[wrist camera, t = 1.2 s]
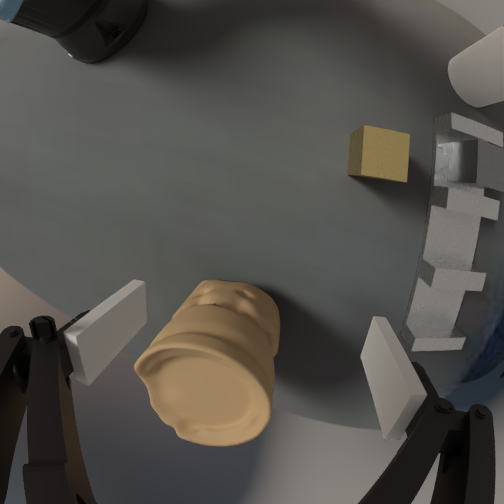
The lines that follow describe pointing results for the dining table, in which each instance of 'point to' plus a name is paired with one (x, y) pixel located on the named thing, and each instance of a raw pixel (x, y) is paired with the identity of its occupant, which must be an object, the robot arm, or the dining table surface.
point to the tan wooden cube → (379, 154)
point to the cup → (480, 71)
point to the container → (215, 364)
